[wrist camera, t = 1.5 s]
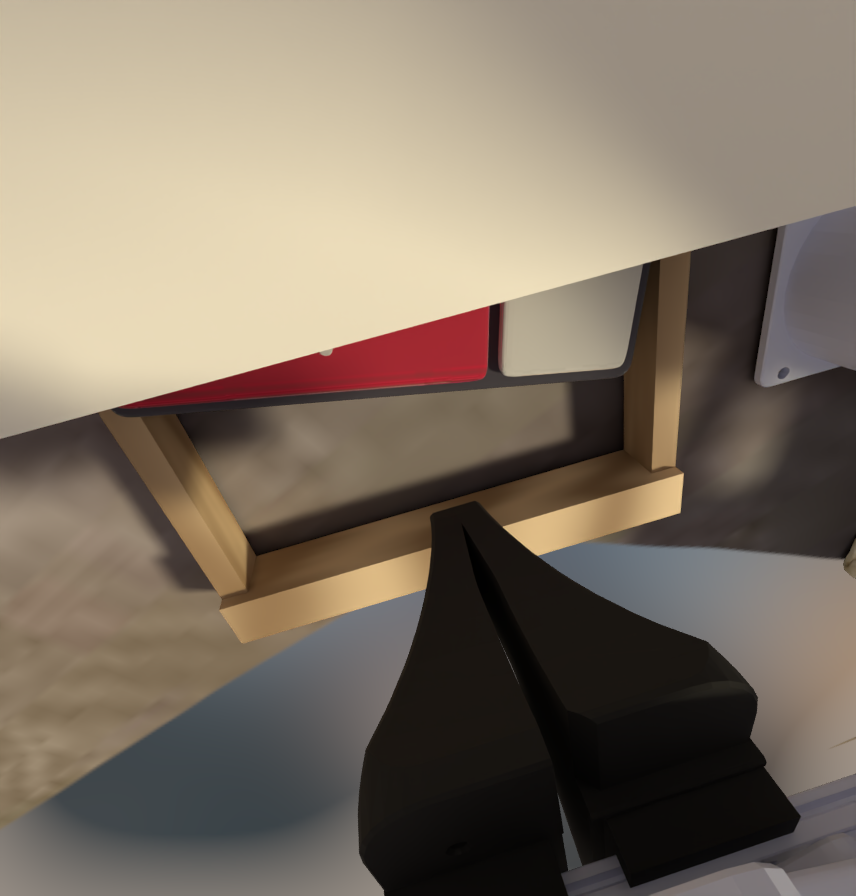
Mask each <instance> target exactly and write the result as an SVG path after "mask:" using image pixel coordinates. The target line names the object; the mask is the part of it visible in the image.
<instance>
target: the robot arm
mask: <svg viewBox="0 0 856 896" xmlns="http://www.w3.org/2000/svg"><path fill="white" fill-rule="evenodd" d="M840 366H843V367H846V368H849V369H852V370H855V371H856V206H854V207H850V208H846V209H843V210H839V211H835V212H832V213H828V214H824V215H821V216H817V217H813V218H810V219H806V220H802V221H799V222H795V223H791V224H787V225H784V226H780V227H778V232H777V239H776V245H775V251H774V257H773V264H772V270H771V276H770V282H769V288H768V295H767V301H766V307H765V313H764V320H763V326H762V332H761V338H760V344H759V351H758V357H757V363H756V369H755V376H754V381H755V382H756V384H758V385H761V386H763V387H771V386H774V385H778V384H781V383H785V382H788V381H792V380H795V379H799V378H802V377H806V376H809V375H812V374H816V373H819V372H823V371H826V370H830V369H833V368H837V367H840ZM779 371H780V372H779ZM778 372H779V373H778ZM430 522H431V532H432V541H431V557H430V567H429V575H428V581H427V586H426V592H425V598H424V602H423V607H422V611H421V615H420V619H419V623H418V626H417V630H416V633H415V636H414V639H413V642H412V646H411V649H410V652H409V655H408V658H407V660H406V663H405V666H404V669H403V671H402V673H401V676H400V678H399V680H398V683H397V685H396V688H395V690H394V692H393V695H392V697H391V700H390V702H389V704H388V706H387V708H386V711H385V713H384V715H383V716H382V718H381V720H380V722H379V724H378V726H377V729H376V730H375V732H374V734H373V736H372V738H371V740H370V742H369V744H368V746H367V748H366V751H365V757H364V762H363V768H362V775H361V782H360V790H359V803H358V804H359V805H358V832H359V854H360V856H361V859H362V861H363V863H364V865H365V866H366V867H367V868H368V870H369V871H370V873H371V874H372V875H373V876H374V878H375V879H376V880H377V882H378V883H379V884H380V885H381V887H382V888H383V889H384V896H856V774H853V775H850V776H847V777H844V778H841V779H838V780H836V781H833V782H830V783H827V784H824V785H821V786H818V787H815V788H812V789H809V790H806V791H803V792H800V793H797V794H794V795H791V796H788V797H786V796H785V794H784V793H783V792H782V790H781V789H780V788H779V787H778V785H777V784H776V783H775V781H774V780H773V779H772V777H771V776H770V775H769V773H768V772H767V771H766V769H765V768H764V767H763V766H765V765H766V760H765V758H764V756H763V754H762V753H761V752H760V750H759V749H758V748H757V747H756V745H755V744H754V743H753V742H752V740H751V739H750V735H751V732H752V728H753V724H754V721H755V717H756V713H757V701H758V700H757V699H758V697H757V695H756V693H755V691H754V689H753V688H752V687H751V686H750V685H749V683H748V682H747V681H746V680H745V679H744V678H743V676H742V675H741V674H740V673H739V672H738V671H737V670H736V669H735V668H734V667H733V666H732V665H731V664H730V663H729V662H728V661H727V660H726V659H725V658H724V657H723V656H722V655H721V654H720V653H719V652H717V650H715V648H713V647H712V646H711V645H710V644H709V643H708V642H707V641H704V640H701V639H699V638H696V637H693V636H691V635H688V634H685V633H682V632H679V631H677V630H674V629H671V628H668V627H666V626H663V625H660V624H658V623H656V622H653V621H651V620H649V619H646V618H644V617H642V616H639V615H637V614H635V613H633V612H631V611H629V610H626V609H625V608H623V607H621V606H619V605H617V604H615V603H613V602H611V601H609V600H607V599H605V598H603V597H601V596H599V595H597V594H595V593H593V592H592V591H590V590H588V589H586V588H585V587H583V586H581V585H580V584H578V583H576V582H574V581H573V580H571V579H570V578H568V577H567V576H565V575H564V574H562V573H560V572H559V571H557V570H556V569H555V568H553V567H551V566H550V565H549V564H547V563H546V562H545V561H543V560H542V559H541V558H539V557H538V556H537V555H535V554H534V553H533V552H531V551H530V550H529V549H528V548H526V547H525V546H524V545H523V544H522V543H520V542H519V541H518V540H517V539H516V538H514V537H513V536H512V535H511V534H510V533H509V532H508V531H506V530H505V529H504V528H503V527H502V526H501V525H500V524H499V523H498V522H497V521H496V520H495V519H494V518H493V517H492V516H491V515H490V514H489V513H488V512H487V511H486V510H485V509H484V507H483V506H482V505H481V504H480V503H479V502H477V501H472V502H468V503H465V504H462V505H458V506H455V507H451V508H448V509H445V510H441V511H438V512H434V513H432V515H431V516H430ZM498 637H499V638H498ZM499 639H500V640H499ZM501 644H502V645H501ZM502 646H503V647H502ZM503 648H504V649H503ZM504 650H505V652H506V654H505V652H504ZM506 655H507V656H506ZM507 657H508V659H509V661H510V663H511V665H512V668H513V670H514V672H513V670H512V668H511V665H510V663H509V661H508V659H507ZM514 673H515V675H516V677H515V675H514ZM516 678H517V679H516ZM517 680H518V681H517ZM519 685H520V686H519ZM557 793H558V794H557ZM558 796H559V799H560V801H561V804H562V807H563V810H564V813H565V816H566V819H567V822H568V825H569V828H570V831H571V834H572V836H573V839H574V842H575V845H576V848H577V851H578V854H579V857H580V860H581V863H582V866H581V867H578V868H575V869H572V870H569V871H568V867H567V861H566V855H565V849H564V843H563V837H562V834H563V833H564V832H563V826H562V819H561V813H560V807H559V800H558Z"/></svg>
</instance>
